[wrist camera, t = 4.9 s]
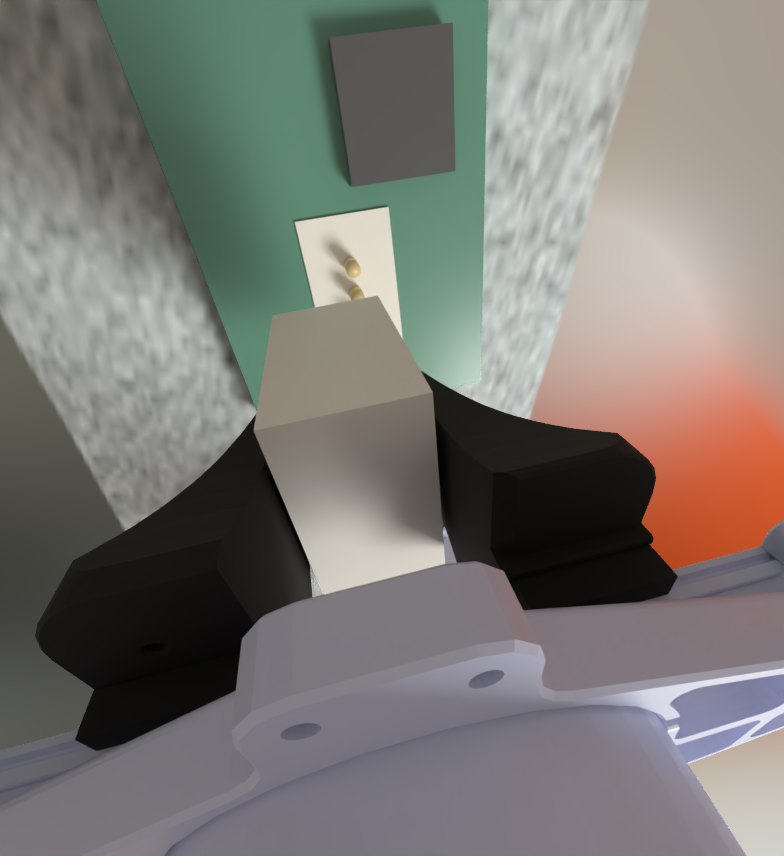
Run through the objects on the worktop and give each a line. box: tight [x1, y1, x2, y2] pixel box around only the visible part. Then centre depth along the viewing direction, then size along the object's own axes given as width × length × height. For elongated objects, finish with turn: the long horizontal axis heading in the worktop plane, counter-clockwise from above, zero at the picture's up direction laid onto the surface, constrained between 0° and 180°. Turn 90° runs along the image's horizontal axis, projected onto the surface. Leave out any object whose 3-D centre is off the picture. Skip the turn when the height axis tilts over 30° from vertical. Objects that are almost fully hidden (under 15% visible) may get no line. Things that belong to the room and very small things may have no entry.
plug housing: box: [254, 296, 445, 595], centre depth 11 cm, size 7×3×6 cm, turn 7°
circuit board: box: [96, 0, 488, 410], centre depth 16 cm, size 16×12×3 cm
